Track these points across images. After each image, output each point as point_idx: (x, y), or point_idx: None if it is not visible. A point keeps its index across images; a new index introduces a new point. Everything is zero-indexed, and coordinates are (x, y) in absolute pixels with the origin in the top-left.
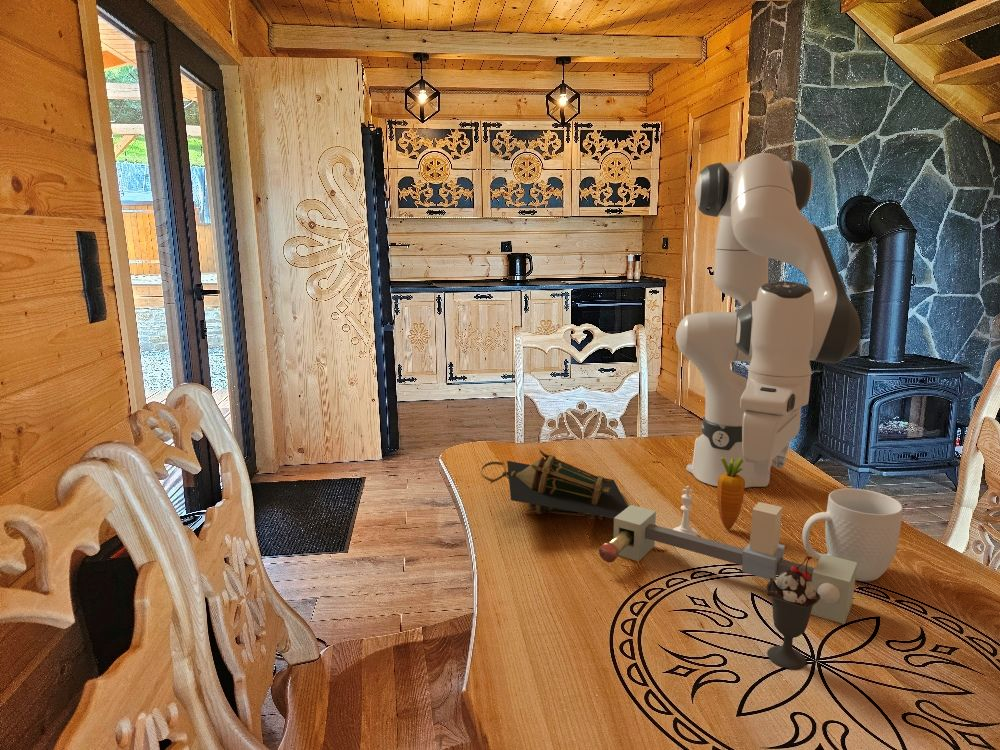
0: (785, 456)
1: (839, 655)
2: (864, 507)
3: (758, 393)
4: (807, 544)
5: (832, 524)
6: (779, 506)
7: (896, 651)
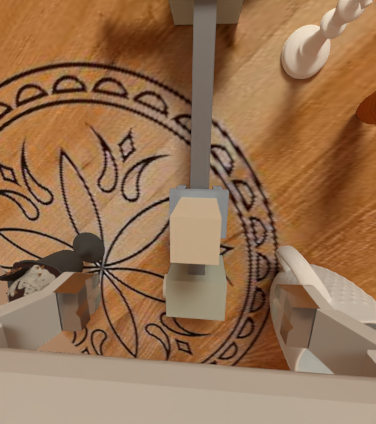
0: (315, 350)
1: (122, 283)
2: None
3: None
4: (277, 253)
5: None
6: (218, 260)
7: (157, 318)
